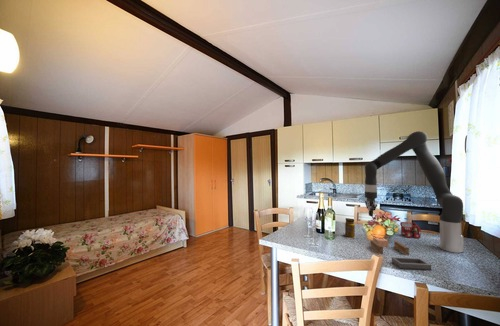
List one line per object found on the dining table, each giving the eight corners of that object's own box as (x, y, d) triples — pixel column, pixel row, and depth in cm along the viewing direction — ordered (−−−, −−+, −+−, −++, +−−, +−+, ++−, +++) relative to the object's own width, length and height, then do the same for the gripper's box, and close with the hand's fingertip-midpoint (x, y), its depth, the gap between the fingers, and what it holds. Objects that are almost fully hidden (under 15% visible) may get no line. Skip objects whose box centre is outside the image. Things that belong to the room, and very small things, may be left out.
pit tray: (420, 263, 105) (420, 258, 105) (431, 270, 98) (431, 265, 98) (391, 262, 106) (391, 257, 106) (400, 268, 99) (400, 263, 99)
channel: (397, 247, 125) (397, 241, 125) (408, 254, 115) (408, 247, 115) (370, 246, 126) (370, 240, 126) (379, 253, 116) (379, 246, 117)
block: (383, 243, 132) (383, 237, 132) (388, 247, 126) (388, 240, 126) (373, 243, 133) (373, 237, 133) (377, 246, 127) (377, 240, 127)
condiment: (357, 237, 144) (357, 220, 144) (350, 239, 140) (350, 221, 140) (347, 234, 150) (347, 217, 150) (340, 236, 146) (340, 219, 146)
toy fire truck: (423, 239, 140) (423, 224, 140) (403, 237, 143) (403, 223, 143) (418, 236, 147) (417, 221, 147) (398, 234, 150) (398, 220, 150)
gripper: (381, 192, 135) (381, 218, 135) (371, 190, 148) (371, 213, 148) (369, 192, 136) (369, 218, 136) (360, 189, 149) (360, 213, 149)
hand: (370, 215), depth 142 cm, fingers closed
